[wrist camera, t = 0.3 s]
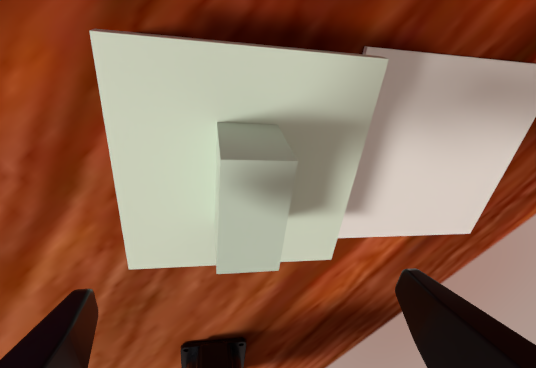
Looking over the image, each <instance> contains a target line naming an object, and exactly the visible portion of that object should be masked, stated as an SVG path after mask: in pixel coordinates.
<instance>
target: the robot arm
mask: <svg viewBox="0 0 536 368" xmlns="http://www.w3.org/2000/svg"><path fill="white" fill-rule="evenodd" d="M395 293H396V296H397V299H398V301H399V304H400V307H401V309H402V312H403V314H404V317H405V319H406V322H407V324H408V327H409V330H410V332H411V334H412V337H413V339H414V341H415V344H416V346H417V348H418V350H419V352H420V354H421V356H422V358H423V360H424V362H425V364H426V366H427V368H536V345H535V344H533V343H532V342H530V341H528V340H527V339H525V338H524V337H522V336H521V335H519V334H518V333H516V332H514V331H513V330H511V329H510V328H508V327H507V326H505V325H504V324H502V323H501V322H499V321H497V320H496V319H494V318H493V317H491V316H490V315H488V314H487V313H485V312H483V311H482V310H480V309H479V308H477V307H476V306H474V305H473V304H471V303H469V302H468V301H466V300H465V299H463V298H462V297H460V296H458V295H457V294H455V293H454V292H452V291H451V290H449V289H448V288H446V287H445V286H443V285H442V284H440V283H438V282H437V281H435V280H434V279H432V278H431V277H429V276H428V275H426V274H424V273H423V272H421V271H420V270H418V269H405V270H403V271H402V273H401V275H400V277H399V280H398V282H397V284H396V287H395ZM97 320H98V307H97V303H96V299H95V295H94V292H93V290H92V289H77V290H74V291H73V292H71V293H70V294H69V295H68V296H67V297H66V298H65V299H64V300H63V301H62V302H61V303H60V304H59V305H58V306H57V307H55V308H54V309H53V310H52V311H51V312H50V313H49V314H48V315H47V316H46V317H45V318H44V319H43V320H42V321H41V322H40V323H39V324H38V325H37V326H35V327H34V328H33V329H32V330H31V331H30V332H29V333H28V334H27V335H26V336H25V337H24V338H23V339H22V340H21V341H20V342H19V343H18V344H17V345H15V346H14V347H13V348H12V349H11V350H10V351H9V352H8V353H7V354H6V355H5V356H4V357H3V358H2V359H1V360H0V368H88V363H89V359H90V354H91V349H92V344H93V339H94V334H95V330H96V325H97ZM245 350H246V339H244V338H238V339H228V340H218V341H207V342H197V343H187V344H183V345H182V346H181V365H182V368H243V367H244V358H245Z"/></svg>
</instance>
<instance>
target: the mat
mask: <svg viewBox="0 0 536 368" xmlns="http://www.w3.org/2000/svg"><path fill="white" fill-rule="evenodd" d="M363 54H364V55H374V56H382V57H385V58H387V59H389V60H388V64H387V67H386V71H385V74H384V78H383V81H382V85H381V88H380V92H379V95H378V99H377V102H376V106H375V109H374V113H373V116H372V120H371V123H370V127H369V130H368V134H367V137H366V140H365V144H364V147H363V151H362V154H361V158H360V161H359V165H358V168H357V172H356V175H355V179H354V182H353V186H352V189H351V193H350V196H349V200H348V203H347V207H346V210H345V214H344V217H343V220H342V224H341V227H340V231H339V234H338V238H356V237H385V236H414V235H443V234H470V233H471V231H472V229H473V227H474V226H475V224H476V222H477V220H478V218H479V217H480V215H481V213H482V211H483V210H484V208H485V206H486V204H487V202H488V201H489V199H490V197H491V195H492V194H493V192H494V190H495V188H496V186H497V185H498V183H499V181H500V179H501V178H502V176H503V174H504V172H505V170H506V169H507V167H508V165H509V163H510V162H511V160H512V158H513V156H514V154H515V153H516V151H517V149H518V147H519V146H520V144H521V142H522V140H523V138H524V137H525V135H526V133H527V131H528V130H529V128H530V126H531V124H532V122H533V121H534V119H535V117H536V64H534V63H524V62H514V61H504V60H495V59H485V58H475V57H465V56H455V55H446V54H436V53H426V52H416V51H406V50H396V49H387V48H377V47H367V46H364V50H363Z"/></svg>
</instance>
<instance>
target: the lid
mask: <svg viewBox="0 0 536 368" xmlns="http://www.w3.org/2000/svg"><path fill="white" fill-rule="evenodd" d="M90 37H91V44H92V50H93V56H94V62H95V68H96V74H97V80H98V86H99V92H100V98H101V104H102V110H103V116H104V122H105V128H106V134H107V141H108V147H109V153H110V159H111V165H112V171H113V177H114V183H115V189H116V195H117V201H118V207H119V213H120V219H121V225H122V231H123V238H124V244H125V250H126V256H127V262H128V268H129V269H147V268H168V267H188V266H208V265H216V272H217V274H226V273H244V272H262V271H279V266H280V262H290V261H310V260H330V259H332V255H333V252H334V248H335V245H336V241H337V238H338V234H339V231H340V227H341V224H342V220H343V217H344V214H345V210H346V207H347V203H348V200H349V196H350V193H351V189H352V186H353V182H354V179H355V175H356V172H357V168H358V165H359V161H360V158H361V154H362V151H363V147H364V144H365V140H366V137H367V134H368V130H369V127H370V123H371V120H372V116H373V113H374V109H375V106H376V102H377V99H378V95H379V92H380V88H381V85H382V81H383V78H384V74H385V71H386V67H387V64H388V60H389V59H387V58H385V57H382V56H374V55H364V54H354V53H343V52H333V51H322V50H312V49H301V48H291V47H281V46H270V45H260V44H249V43H239V42H229V41H218V40H208V39H197V38H187V37H176V36H166V35H156V34H145V33H135V32H124V31H114V30H103V29H93V30H90Z"/></svg>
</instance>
